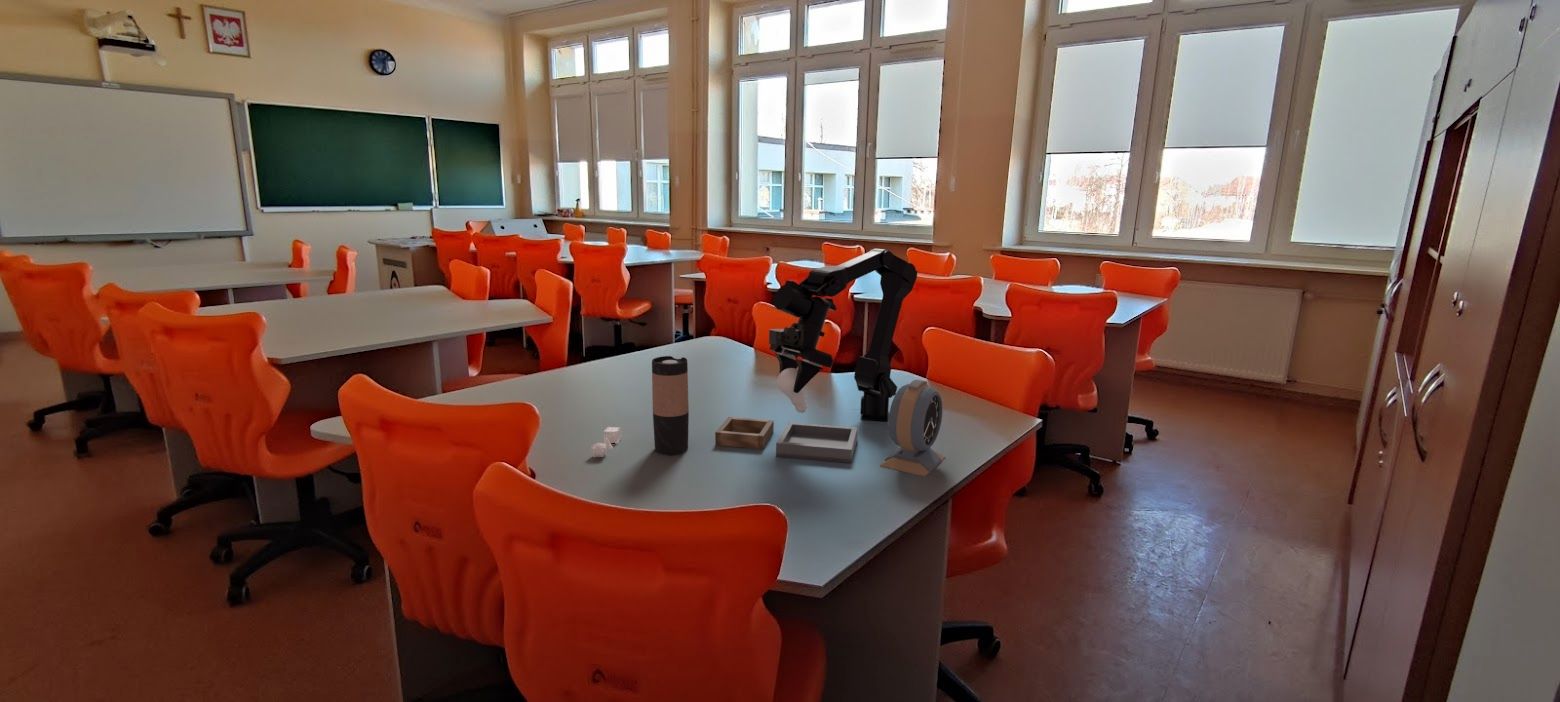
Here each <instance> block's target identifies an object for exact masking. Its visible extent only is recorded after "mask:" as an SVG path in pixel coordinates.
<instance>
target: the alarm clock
mask: <svg viewBox="0 0 1560 702" xmlns="http://www.w3.org/2000/svg"><path fill="white" fill-rule="evenodd" d="M942 419H943V401H942V396H941V394H940V392H939V391H938V390H937V389H935V388H934V387H931V386H930V385H929V384H928V381H927V380H921V379H914V380H912V381H911V382H910V383H907V384H905V385H903V386H901V387H900V388H899V389H897V391H896V394H895V395H894V397H893V400H892V401H891V404H890V408H889V417H888V433H889V437H890V440H891V441H892V442H893V443H894V444H895V446H898V447H900V448H898V449H896V450H895V451H894V452H892V453H891V454H890V455H888V456H887V457H886V458H885V459H884V461H883V462H882V463H881V464H879V467H883V468H887V469H891V470H893V471H899V472H904V473H907V474H911V475H915V476H919V477H926V476H928V474H929V473H931V471H933V470H934V469H935V468H936V467H937V466H938V465H939V464H940V463H941V462H943V460H944V459H946V456H945V455H943V454H942V453H939V452H937V451H935V450H933V449H932V448H931V447H932V446H933V445H934V444H935V442H936V440H937V438H938V435H939V432H940V428H941V426H942Z"/></svg>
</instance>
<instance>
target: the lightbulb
mask: <svg viewBox="0 0 1560 702" xmlns="http://www.w3.org/2000/svg"><path fill="white" fill-rule="evenodd" d="M797 372H798V368H797V369H795V368H787V369H785V370H783V371H782V372H781V373H780V372H779V374H778V377H777V381H776V382H777V387H778V389H779V391H780V392H782V394H784V395H785V396H786V397H787V398H788V399H789V400H790V402H791V404H792V405H793V406H794V408H795V410H796V412H797V413H801V414H803V413H805V412H806V411H807V409H808V405H807V402H806V397H805V386H804V387H803V388H802V389H801V390H800V392H799V393H795V392H794V391H793V390H794V385H795V381H796V376H797Z"/></svg>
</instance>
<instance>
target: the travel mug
mask: <svg viewBox="0 0 1560 702" xmlns="http://www.w3.org/2000/svg"><path fill="white" fill-rule="evenodd" d="M688 371H689V369H688V359H687V357H681V358H674V357H673V356H671V355H664V356H663V355H662V356H657V357H654V358H652V360H651V380H652V381H651V382H652V385H651V389H652V397H651V398H652V421H653V422H652V423H653V434H654V435H653V436H654V437H653V439H654V449H655V452H656V453H657V452H658V454H660V453H661V455H664V454H666V455H665V456H674V454H676V455H681V454H683V452H684V453H686V452H687V451H688V449H689V423H690V422H689V419H690V417H689V414H690V413H689V411H690V409H689V404H690V403H689V373H688ZM680 453H681V454H680Z"/></svg>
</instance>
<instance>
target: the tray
mask: <svg viewBox="0 0 1560 702" xmlns="http://www.w3.org/2000/svg"><path fill="white" fill-rule="evenodd" d="M858 429H859V428H858V427H853V426H851V427H850V426H841V425H830V424H829V425H827V424H826V425H825V424H817V423H815V424H814V423H801V422H791V421H790V422H787V424H786V426H785V427H784V429H783V430H782V432H781V434H780V435H779V437H778V440H777V441H776V442H775V443H776V444H775V457H777V458H778V457H779V458H786V459H787V458H788V459H789V458H790V459H800V460H810V461H823V462H824V461H825V462H834V463H844V464H845V463H846V464H852V461H853V457H854V454H855V449H856V446H857V442H858Z"/></svg>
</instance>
